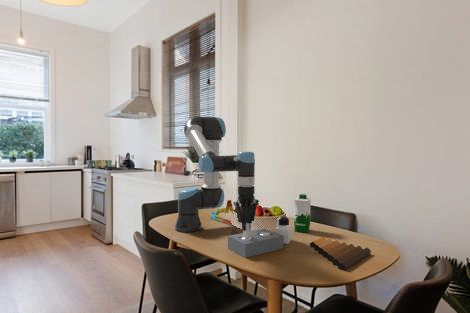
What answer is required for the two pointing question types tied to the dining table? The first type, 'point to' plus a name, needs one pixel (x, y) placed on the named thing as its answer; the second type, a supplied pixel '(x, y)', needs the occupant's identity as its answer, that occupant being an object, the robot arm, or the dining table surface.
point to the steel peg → (264, 233)
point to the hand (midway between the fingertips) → (246, 237)
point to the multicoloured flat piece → (226, 210)
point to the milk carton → (302, 213)
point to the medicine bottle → (284, 229)
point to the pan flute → (340, 252)
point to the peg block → (255, 243)
